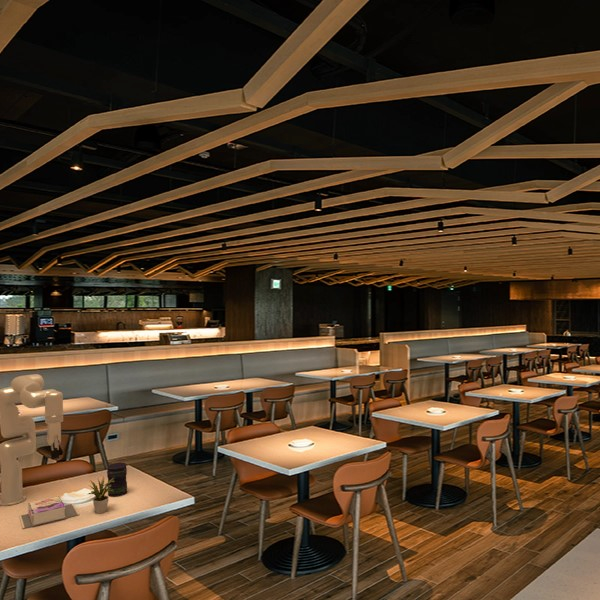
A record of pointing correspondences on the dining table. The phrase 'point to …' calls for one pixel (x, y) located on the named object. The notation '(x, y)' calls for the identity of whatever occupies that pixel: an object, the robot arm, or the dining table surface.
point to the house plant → (100, 496)
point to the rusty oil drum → (117, 479)
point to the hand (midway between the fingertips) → (55, 458)
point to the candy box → (46, 510)
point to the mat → (69, 512)
